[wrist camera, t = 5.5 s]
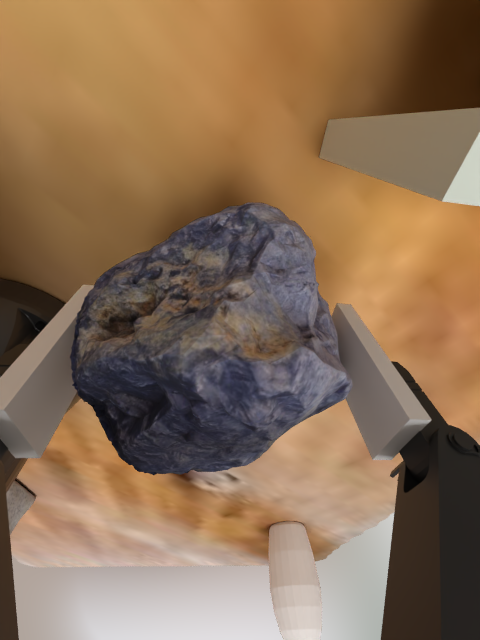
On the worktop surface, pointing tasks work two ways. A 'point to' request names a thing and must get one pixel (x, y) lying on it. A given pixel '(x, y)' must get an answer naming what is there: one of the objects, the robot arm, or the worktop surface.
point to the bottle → (294, 582)
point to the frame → (413, 151)
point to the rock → (209, 344)
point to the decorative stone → (17, 503)
